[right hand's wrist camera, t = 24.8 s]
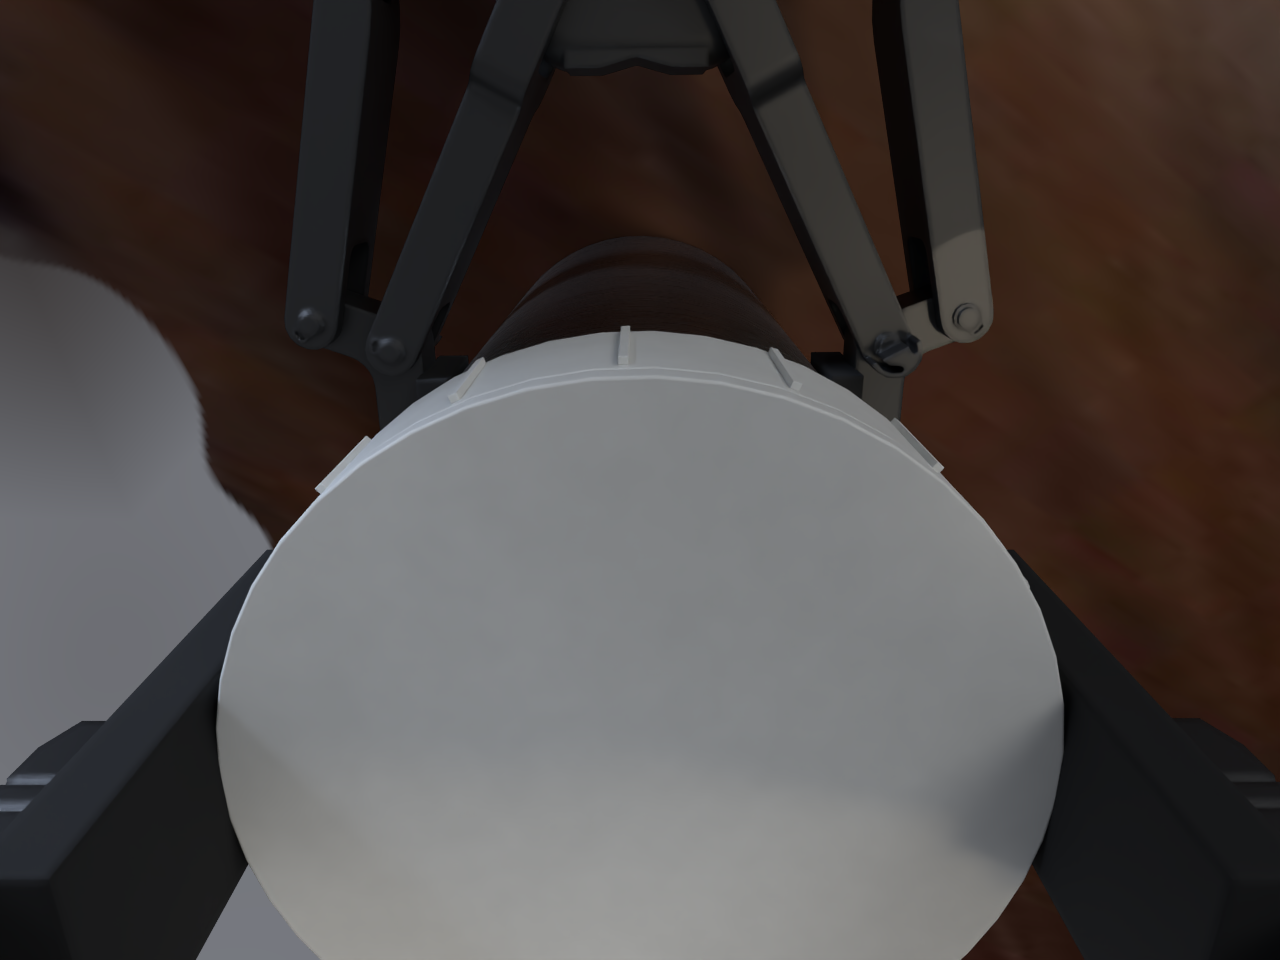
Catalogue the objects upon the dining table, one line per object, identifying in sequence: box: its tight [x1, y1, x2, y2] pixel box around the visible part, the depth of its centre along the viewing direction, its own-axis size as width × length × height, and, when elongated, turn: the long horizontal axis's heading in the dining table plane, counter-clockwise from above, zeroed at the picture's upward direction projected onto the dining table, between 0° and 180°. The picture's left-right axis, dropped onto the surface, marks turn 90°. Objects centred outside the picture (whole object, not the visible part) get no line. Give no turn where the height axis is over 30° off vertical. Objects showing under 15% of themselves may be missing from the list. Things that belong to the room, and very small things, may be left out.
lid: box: [216, 326, 1064, 960], centre depth 12 cm, size 10×10×2 cm
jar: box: [463, 236, 817, 373], centre depth 20 cm, size 9×9×19 cm
